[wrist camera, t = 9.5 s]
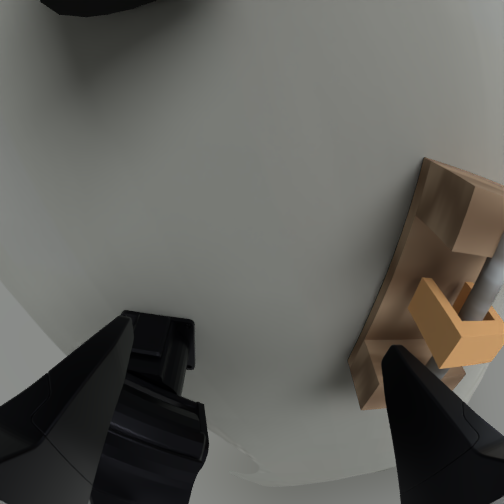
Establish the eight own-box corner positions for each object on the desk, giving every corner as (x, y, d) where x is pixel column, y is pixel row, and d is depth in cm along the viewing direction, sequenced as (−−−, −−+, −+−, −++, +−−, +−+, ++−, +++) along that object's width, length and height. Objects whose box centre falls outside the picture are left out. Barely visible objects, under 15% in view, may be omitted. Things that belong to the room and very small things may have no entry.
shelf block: (426, 357, 28) (448, 406, 22) (347, 360, 28) (363, 419, 22) (507, 187, 18) (561, 224, 12) (424, 157, 18) (486, 192, 12)
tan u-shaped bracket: (472, 282, 21) (511, 333, 15) (457, 309, 22) (491, 361, 17) (422, 277, 20) (461, 336, 15) (407, 307, 22) (439, 368, 16)
